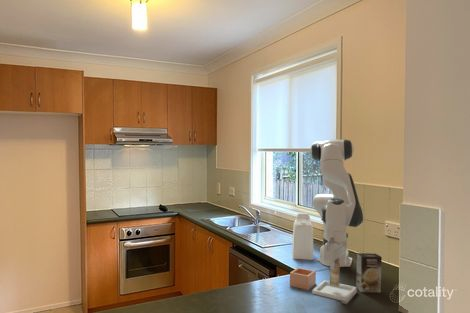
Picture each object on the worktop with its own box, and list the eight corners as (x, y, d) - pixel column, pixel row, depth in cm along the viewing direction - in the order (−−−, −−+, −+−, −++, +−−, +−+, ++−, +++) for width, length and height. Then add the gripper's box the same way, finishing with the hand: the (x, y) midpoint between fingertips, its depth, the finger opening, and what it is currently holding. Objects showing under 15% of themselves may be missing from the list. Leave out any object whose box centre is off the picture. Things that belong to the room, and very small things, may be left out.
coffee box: (361, 292, 162) (361, 256, 162) (355, 287, 169) (356, 252, 169) (381, 292, 163) (381, 256, 163) (375, 287, 169) (375, 253, 169)
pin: (331, 283, 163) (332, 256, 163) (340, 285, 161) (340, 258, 160) (328, 286, 159) (329, 258, 159) (337, 288, 157) (338, 260, 157)
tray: (324, 285, 170) (324, 280, 170) (356, 292, 162) (356, 287, 162) (312, 295, 158) (312, 290, 158) (346, 304, 150) (346, 298, 150)
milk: (311, 254, 224) (312, 212, 223) (313, 259, 212) (314, 215, 212) (291, 253, 225) (292, 211, 225) (292, 258, 213) (293, 214, 213)
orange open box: (297, 282, 175) (297, 267, 175) (315, 286, 170) (315, 271, 170) (289, 287, 167) (289, 272, 167) (308, 292, 162) (308, 276, 162)
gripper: (334, 241, 149) (334, 275, 150) (349, 233, 167) (348, 263, 167) (320, 239, 153) (319, 272, 153) (335, 231, 170) (335, 260, 170)
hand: (334, 267), depth 160 cm, fingers closed on pin, 4 cm apart
